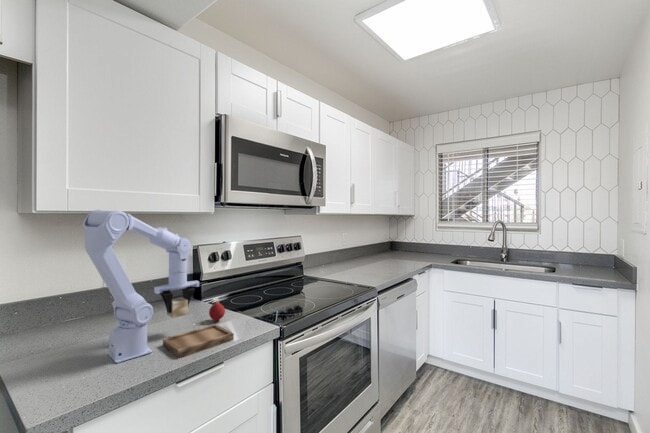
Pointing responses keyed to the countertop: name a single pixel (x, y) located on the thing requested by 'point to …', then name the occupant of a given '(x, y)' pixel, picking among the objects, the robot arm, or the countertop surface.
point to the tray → (197, 340)
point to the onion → (217, 311)
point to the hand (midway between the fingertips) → (177, 310)
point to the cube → (179, 307)
